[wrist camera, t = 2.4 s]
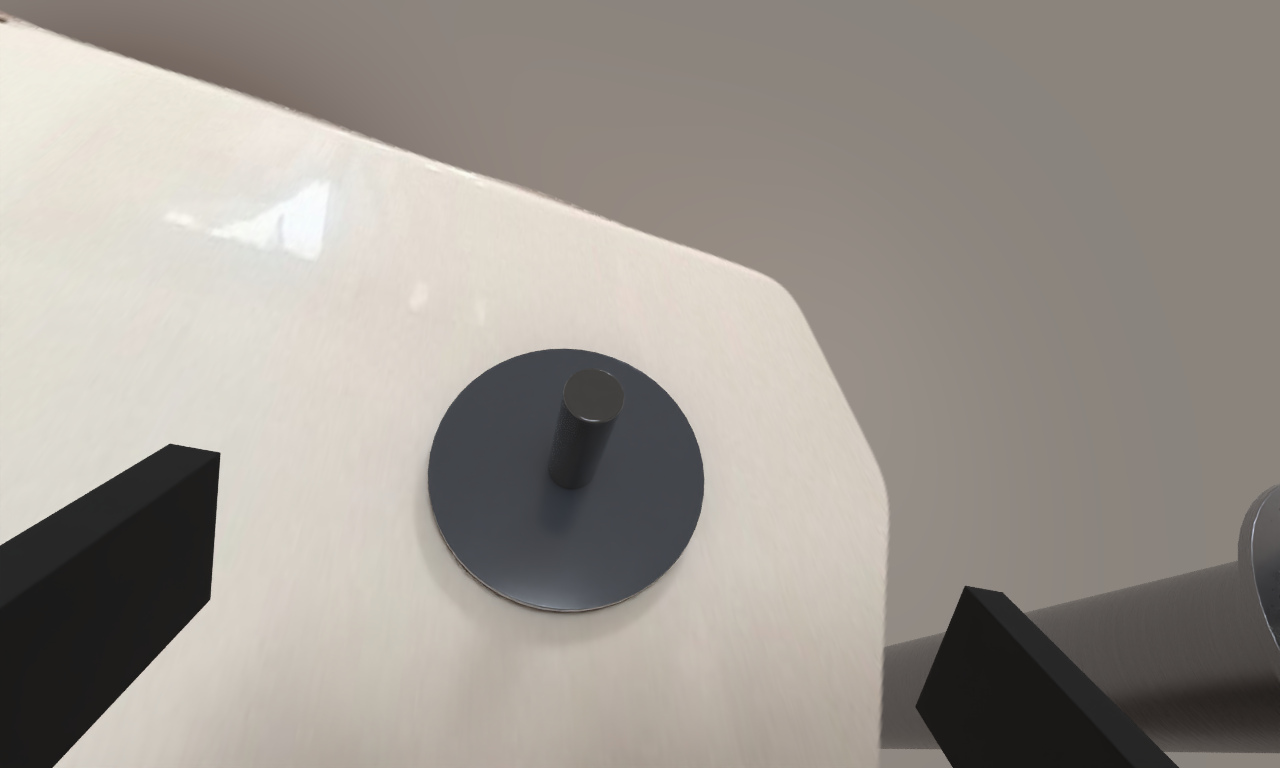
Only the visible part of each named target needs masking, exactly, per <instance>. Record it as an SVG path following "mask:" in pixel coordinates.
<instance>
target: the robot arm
mask: <svg viewBox="0 0 1280 768" xmlns="http://www.w3.org/2000/svg"><path fill="white" fill-rule="evenodd" d="M219 466H220V453H219V452H213V451H208V450H202V449H197V448H191V447H185V446H180V445H174V444H169V445H167V446H165V447H164V448H162V449H160V450H159V451H157V452H155V453H154V454H152V455H150V456H149V457H147V458H145V459H144V460H142V461H140V462H139V463H137V464H135V465H134V466H132V467H130V468H129V469H127V470H125V471H124V472H122V473H120V474H119V475H117V476H115V477H114V478H112V479H110V480H109V481H107V482H105V483H104V484H102V485H100V486H99V487H97V488H95V489H94V490H92V491H90V492H89V493H87V494H85V495H84V496H82V497H80V498H79V499H77V500H75V501H74V502H72V503H70V504H69V505H67V506H65V507H64V508H62V509H60V510H59V511H57V512H55V513H54V514H52V515H50V516H49V517H47V518H45V519H44V520H42V521H40V522H39V523H37V524H35V525H34V526H32V527H30V528H29V529H27V530H25V531H24V532H22V533H20V534H19V535H17V536H15V537H14V538H12V539H10V540H9V541H7V542H5V543H4V544H2V545H0V768H53V767H54V766H55V764H56V763H57V762H58V761H59V760H60V759H61V758H62V757H63V756H64V755H65V754H66V753H67V752H68V751H69V750H70V749H71V747H72V746H73V745H74V744H75V743H76V742H77V741H78V740H79V739H80V738H81V737H82V736H83V735H84V734H85V733H86V731H87V730H88V729H89V728H90V727H91V726H92V725H93V724H94V723H95V722H96V721H97V720H98V719H99V718H100V717H101V715H102V714H103V713H104V712H105V711H106V710H107V709H108V708H109V707H110V706H111V705H112V704H113V703H114V702H115V701H116V699H117V698H118V697H119V696H120V695H121V694H122V693H123V692H124V691H125V690H126V689H127V688H128V687H129V686H130V685H131V683H132V682H133V681H134V680H135V679H136V678H137V677H138V676H139V675H140V674H141V673H142V672H143V671H144V670H145V669H146V667H147V666H148V665H149V664H150V663H151V662H152V661H153V660H154V659H155V658H156V657H157V656H158V655H159V654H160V653H161V651H162V650H163V649H164V648H165V647H166V646H167V645H168V644H169V643H170V642H171V641H172V640H173V639H174V638H175V637H176V635H177V634H178V633H179V632H180V631H181V630H182V629H183V628H184V627H185V626H186V625H187V624H188V623H189V622H190V621H191V619H192V618H193V617H194V616H195V615H196V614H197V613H198V612H199V611H200V610H201V609H202V608H203V607H204V606H205V605H206V603H207V602H208V601H209V600H210V597H211V582H212V568H213V553H214V539H215V524H216V510H217V495H218V481H219ZM916 709H917V710H918V712H919V714H920V715H921V717H922V719H923V720H924V722H925V723H926V725H927V727H928V728H929V730H930V732H931V733H932V735H933V736H934V738H935V740H936V741H937V743H938V744H939V746H940V748H941V749H942V751H943V753H944V754H945V756H946V757H947V759H948V761H949V762H950V764H951V765H952V767H953V768H1179V767H1178V766H1177V765H1176V764H1175V763H1174V762H1173V761H1172V760H1171V759H1170V758H1169V757H1168V756H1167V755H1166V754H1165V753H1164V752H1163V751H1162V750H1161V749H1160V748H1159V747H1158V746H1157V745H1156V744H1155V743H1154V742H1153V741H1152V740H1151V739H1150V738H1149V737H1148V736H1147V735H1146V734H1145V733H1144V732H1143V731H1142V730H1141V729H1140V728H1139V727H1138V726H1137V725H1136V724H1135V723H1134V722H1133V721H1132V720H1131V719H1130V718H1129V717H1128V716H1127V715H1126V714H1124V713H1123V712H1122V711H1121V710H1120V709H1119V708H1118V707H1117V706H1116V705H1115V704H1114V703H1113V702H1112V701H1111V700H1110V699H1109V698H1108V697H1107V696H1106V695H1105V694H1104V693H1103V692H1102V691H1101V690H1100V689H1099V688H1098V687H1097V686H1096V685H1095V684H1094V683H1093V682H1092V681H1091V680H1090V679H1089V678H1088V677H1087V676H1086V675H1085V674H1084V673H1083V672H1082V671H1081V670H1080V669H1079V668H1078V667H1077V666H1076V665H1075V664H1074V663H1073V662H1072V661H1071V660H1070V659H1069V658H1068V657H1067V656H1066V655H1065V654H1064V653H1063V652H1062V651H1061V650H1060V649H1059V648H1058V647H1057V646H1056V645H1055V644H1054V643H1053V642H1052V641H1051V640H1050V639H1049V638H1048V637H1047V636H1046V635H1045V634H1044V633H1043V632H1042V631H1041V630H1040V629H1039V628H1038V627H1037V626H1036V625H1035V624H1034V623H1033V622H1032V621H1031V620H1030V619H1029V618H1028V617H1027V616H1026V615H1025V614H1024V613H1023V612H1022V611H1020V609H1019V608H1018V607H1017V606H1016V605H1015V604H1014V603H1012V601H1011V600H1009V598H1008V597H1006V595H1004V594H1003V592H997V591H991V590H986V589H980V588H975V587H969V586H965V587H964V589H963V592H962V594H961V597H960V599H959V602H958V604H957V607H956V609H955V612H954V614H953V616H952V619H951V621H950V624H949V626H948V629H947V631H946V633H945V636H944V638H943V641H942V643H941V646H940V648H939V650H938V653H937V655H936V658H935V660H934V663H933V665H932V668H931V670H930V672H929V675H928V677H927V680H926V682H925V685H924V687H923V690H922V692H921V694H920V697H919V699H918V702H917V704H916Z"/></svg>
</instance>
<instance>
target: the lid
mask: <svg viewBox="0 0 1280 768" xmlns="http://www.w3.org/2000/svg"><path fill="white" fill-rule="evenodd" d="M428 484H429V494H430V500H431V505H432V510H433V513H434V516H435V519H436V522H437V525H438V528H439V530H440V532H441V534H442V536H443V538H444V540H445V542H446V544H447V545H448V547H449V548H450V550H451V551H452V552H453V554H454V555H455V557H456V558H457V560H458V561H459V562H460V563H461V564H462V565H463V566H464V567H465V568H466V569H467V570H468V571H469V573H470V574H471V575H473V576H474V577H475V578H476V579H478V580H479V581H480V582H481V583H483V584H484V585H485V586H487V587H488V588H490V589H492V590H493V591H495V592H497V593H498V594H500V595H502V596H503V597H506V598H508V599H510V600H513V601H515V602H518V603H520V604H523V605H527V606H530V607H534V608H538V609H543V610H550V611H558V612H580V611H587V610H593V609H599V608H603V607H606V606H610V605H613V604H617V603H619V602H621V601H623V600H626V599H628V598H630V597H632V596H635V595H636V594H638V593H639V592H641V591H643V590H644V589H646V588H647V587H649V586H650V585H652V584H653V583H654V582H655V581H656V580H657V579H659V578H660V577H661V576H662V575H663V574H665V573H666V572H667V570H668V569H669V568H670V567H671V566H672V565H673V564H674V563H675V562H676V560H677V559H678V558H679V557H680V555H681V554H682V552H683V551H684V549H685V548H686V546H687V545H688V543H689V541H690V539H691V537H692V534H693V532H694V530H695V528H696V525H697V522H698V519H699V516H700V513H701V507H702V502H703V496H704V472H703V463H702V458H701V454H700V449H699V446H698V443H697V440H696V438H695V435H694V432H693V430H692V428H691V426H690V424H689V422H688V420H687V418H686V417H685V415H684V414H683V412H682V411H681V409H680V408H679V406H678V405H677V404H676V402H675V401H674V400H673V399H672V398H671V397H670V395H669V394H668V393H667V392H666V391H665V390H664V389H663V388H662V387H660V386H659V385H658V384H657V383H656V382H655V381H654V380H652V379H651V378H650V377H648V376H647V375H645V374H644V373H643V372H641V371H639V370H638V369H636V368H634V367H632V366H631V365H629V364H627V363H625V362H622V361H620V360H617V359H615V358H613V357H610V356H606V355H603V354H599V353H596V352H590V351H585V350H576V349H548V350H541V351H535V352H530V353H527V354H523V355H520V356H516V357H514V358H511V359H509V360H506V361H504V362H502V363H499V364H498V365H496V366H494V367H492V368H491V369H489V370H487V371H486V372H484V373H483V374H481V375H480V376H479V377H477V378H476V379H475V380H473V381H472V382H471V383H470V384H469V385H468V386H467V387H466V388H465V389H464V390H463V391H462V392H461V393H460V394H459V395H458V397H457V398H456V399H455V400H454V402H453V403H452V404H451V405H450V407H449V408H448V410H447V412H446V414H445V415H444V417H443V419H442V420H441V422H440V425H439V427H438V430H437V432H436V434H435V437H434V440H433V444H432V448H431V452H430V459H429V468H428Z"/></svg>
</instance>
